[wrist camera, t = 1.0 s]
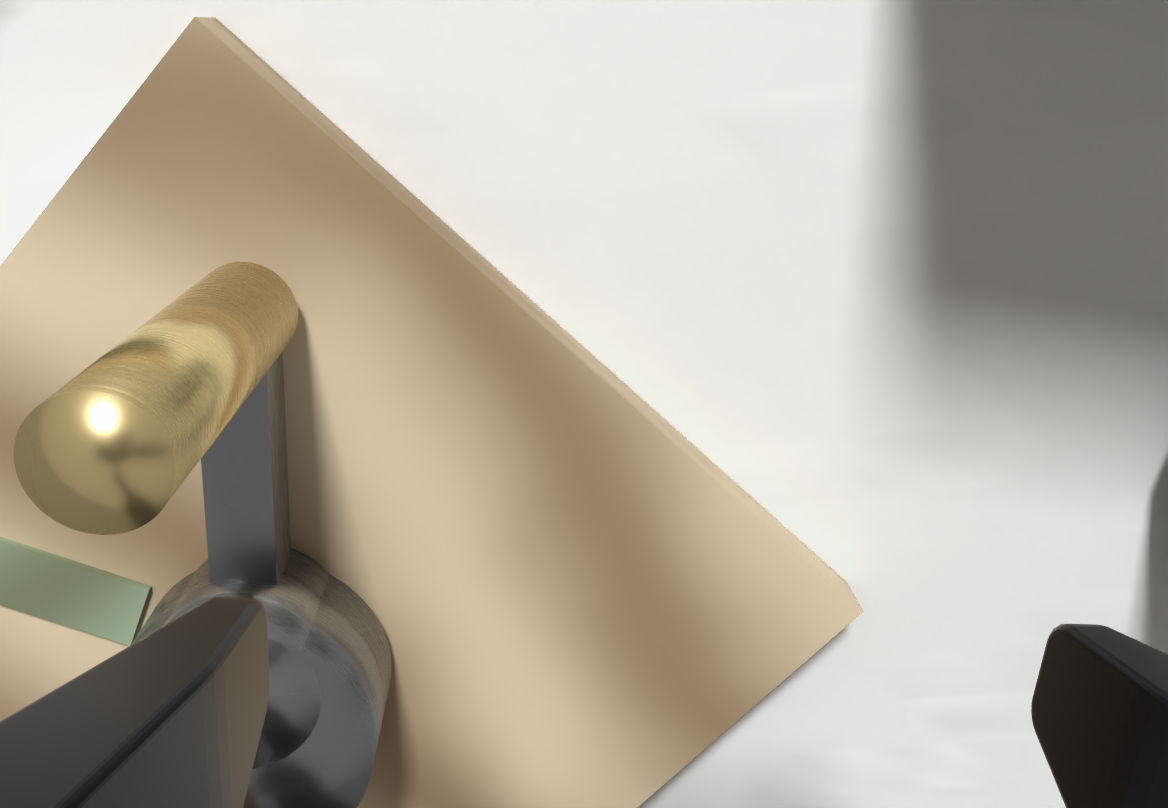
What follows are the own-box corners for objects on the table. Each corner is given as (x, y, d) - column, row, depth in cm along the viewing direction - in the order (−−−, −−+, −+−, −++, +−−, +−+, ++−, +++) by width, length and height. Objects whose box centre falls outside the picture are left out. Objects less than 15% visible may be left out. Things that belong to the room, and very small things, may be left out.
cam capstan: (392, 766, 22) (333, 1080, 15) (153, 762, 22) (-10, 1082, 15) (390, 265, 18) (312, 401, 12) (101, 252, 18) (-146, 383, 11)
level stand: (332, 1036, 27) (278, 1306, 21) (-295, 667, 22) (-578, 887, 16) (846, 582, 23) (951, 765, 17) (215, 17, 18) (73, 14, 12)
